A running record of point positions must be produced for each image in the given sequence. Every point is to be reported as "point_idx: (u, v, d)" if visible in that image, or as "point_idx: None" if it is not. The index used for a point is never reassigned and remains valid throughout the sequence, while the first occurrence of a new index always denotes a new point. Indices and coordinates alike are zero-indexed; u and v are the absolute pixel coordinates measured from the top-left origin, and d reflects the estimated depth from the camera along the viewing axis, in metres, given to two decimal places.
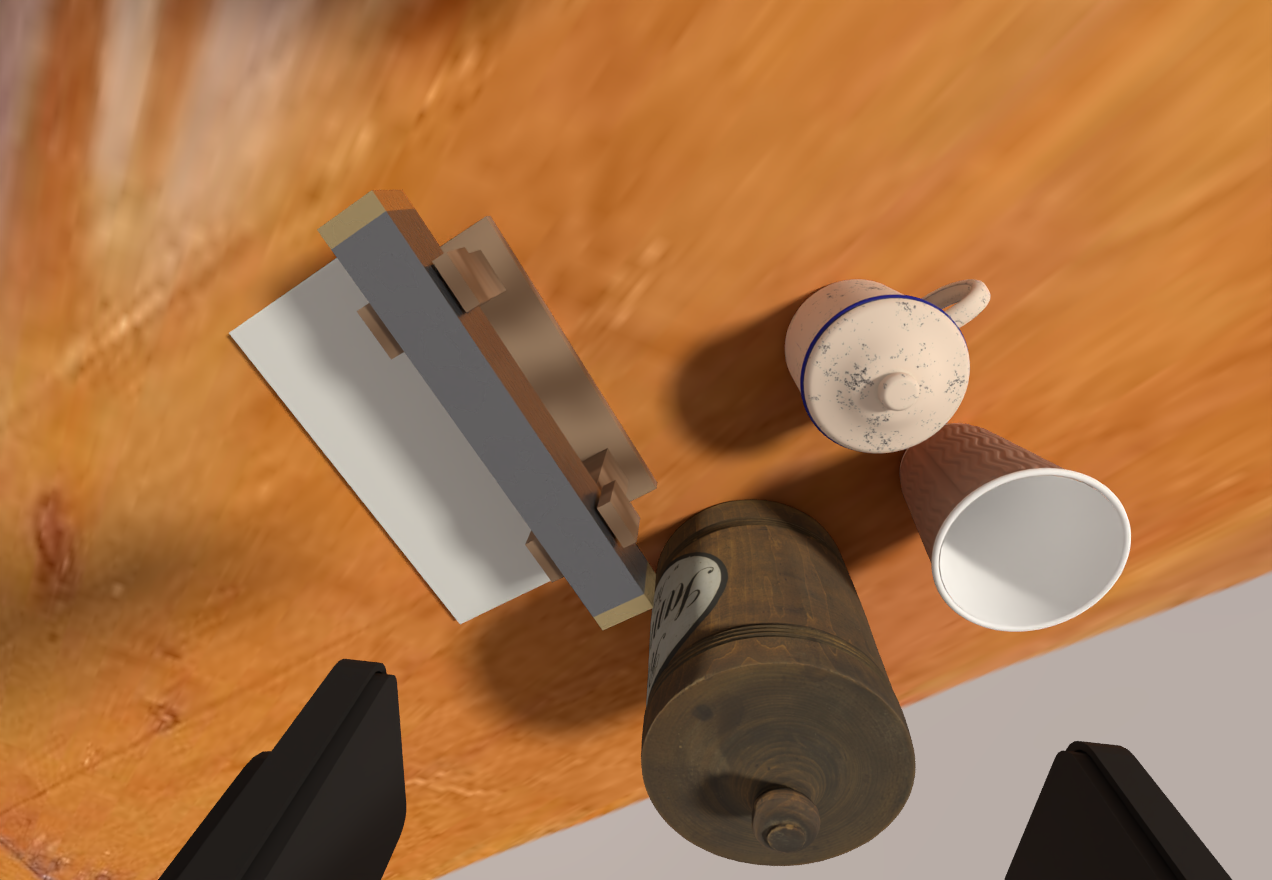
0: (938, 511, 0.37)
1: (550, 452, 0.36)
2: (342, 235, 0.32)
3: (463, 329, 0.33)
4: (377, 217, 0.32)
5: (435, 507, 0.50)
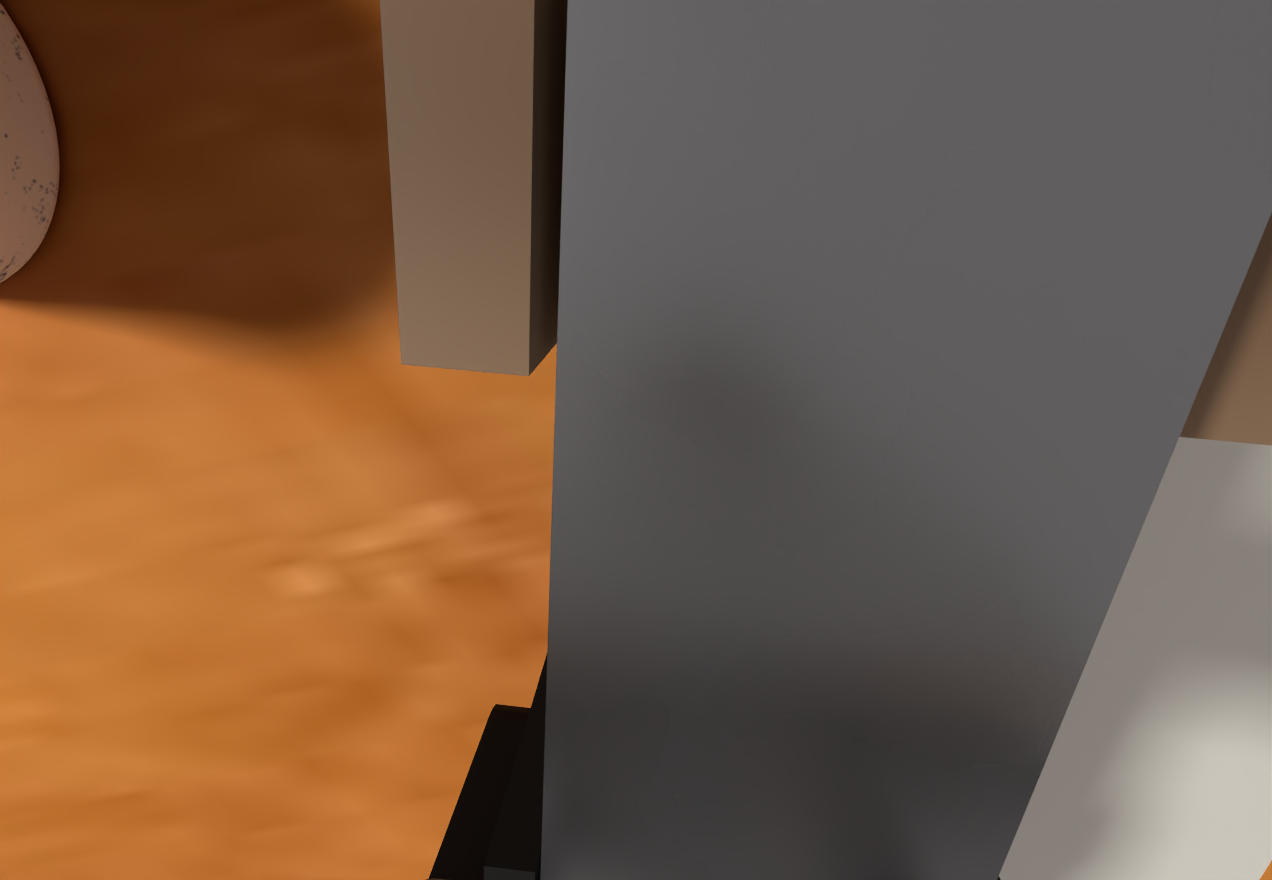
0: None
1: (544, 870, 0.06)
2: None
3: None
4: None
5: None
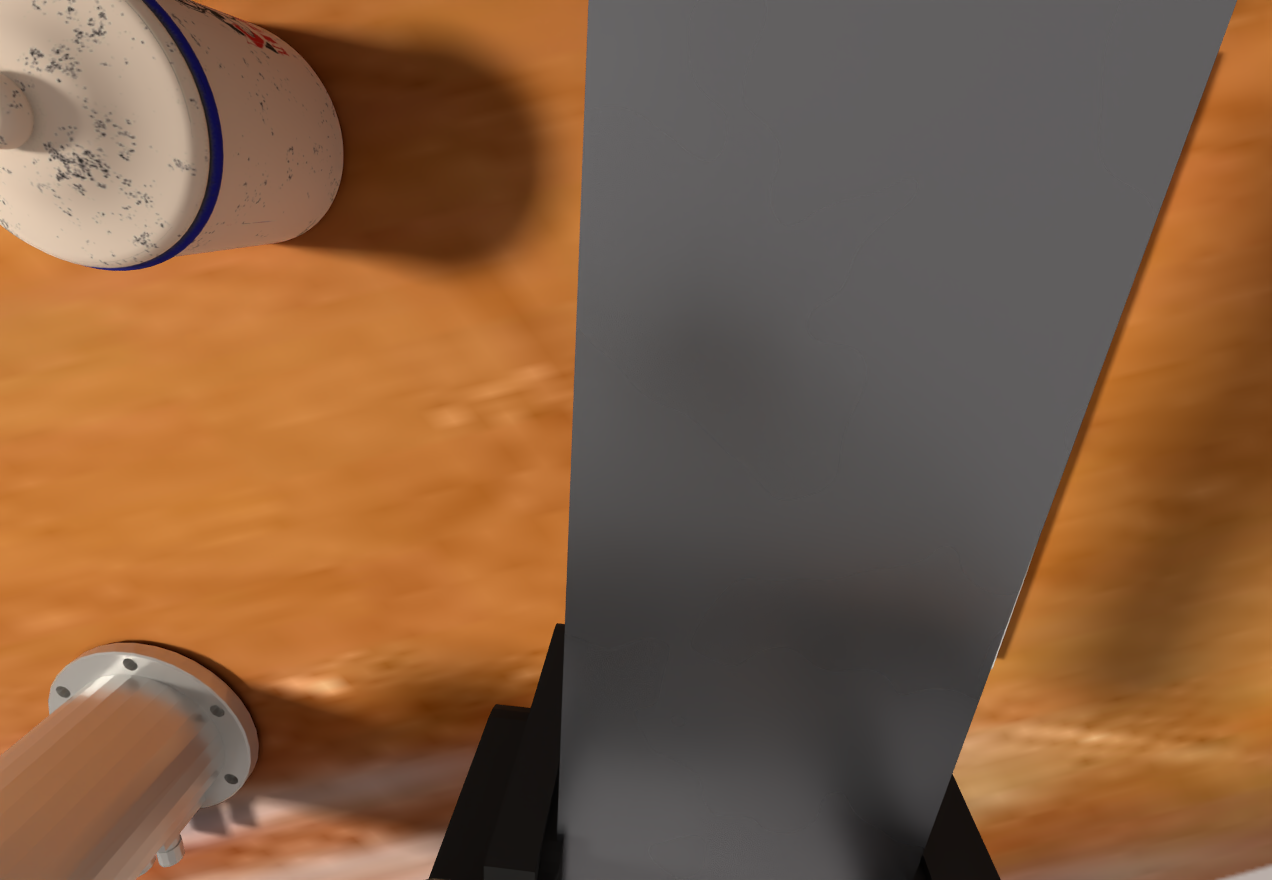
0: None
1: (561, 786, 0.07)
2: None
3: None
4: None
5: None
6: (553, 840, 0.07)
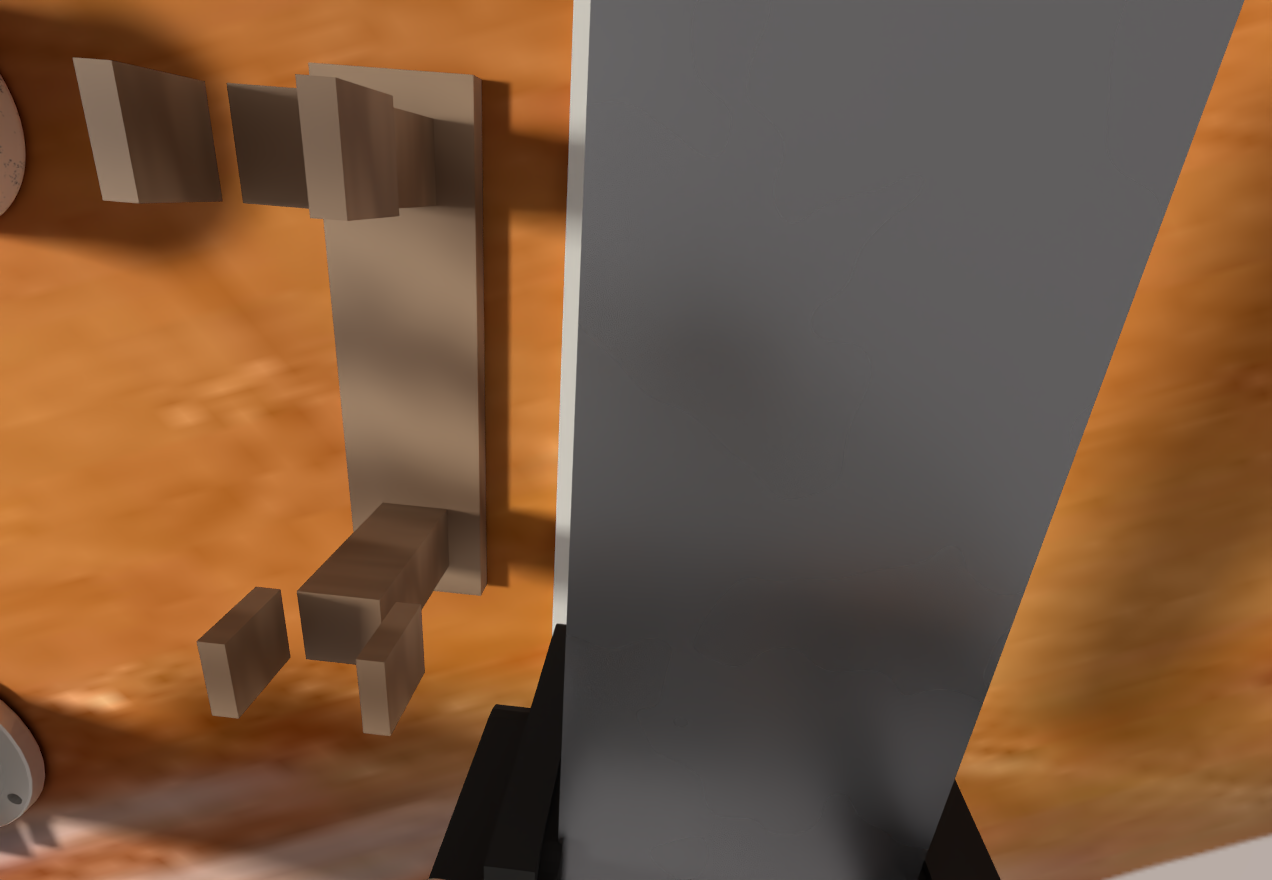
0: None
1: (562, 788, 0.07)
2: None
3: None
4: None
5: None
6: (553, 840, 0.07)
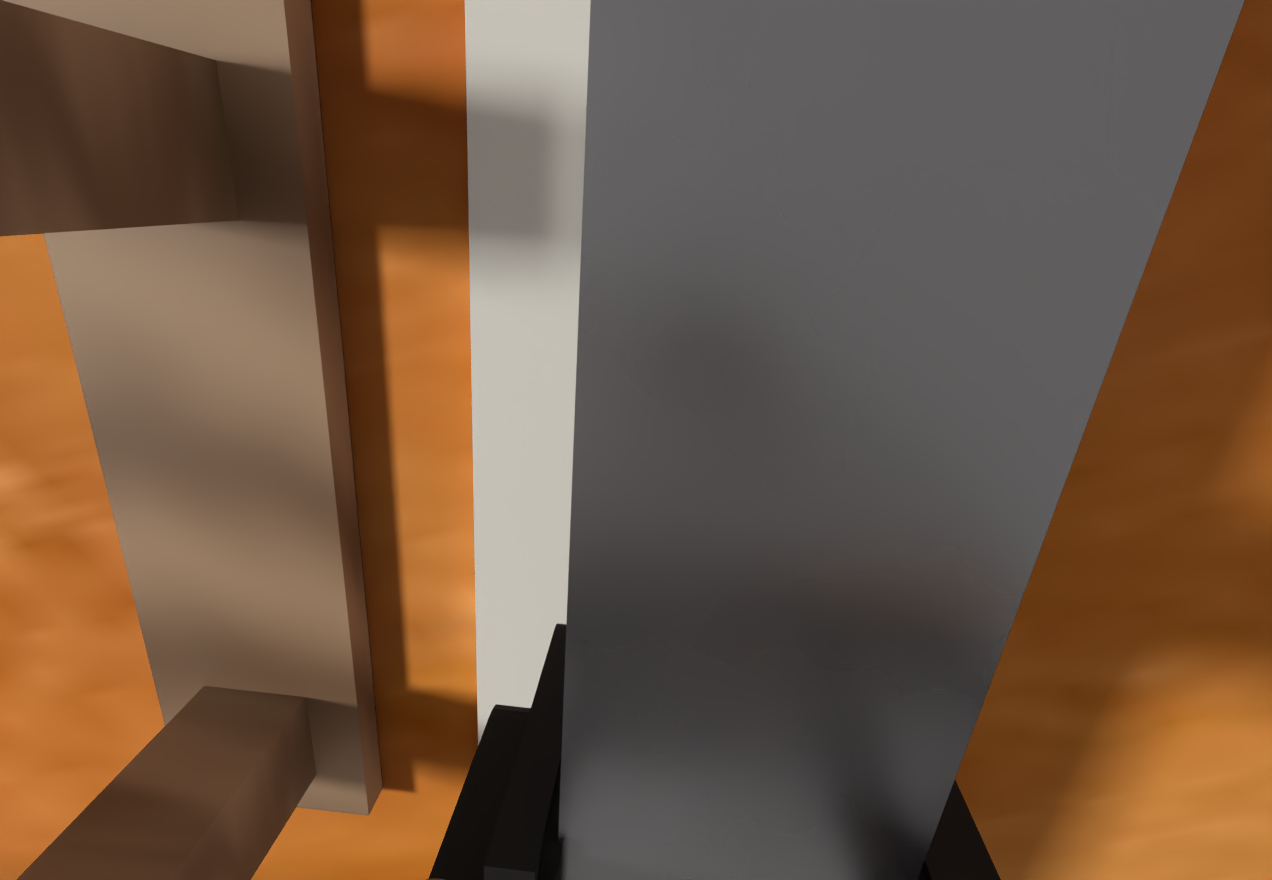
0: None
1: (562, 788, 0.07)
2: None
3: None
4: None
5: None
6: (553, 840, 0.07)
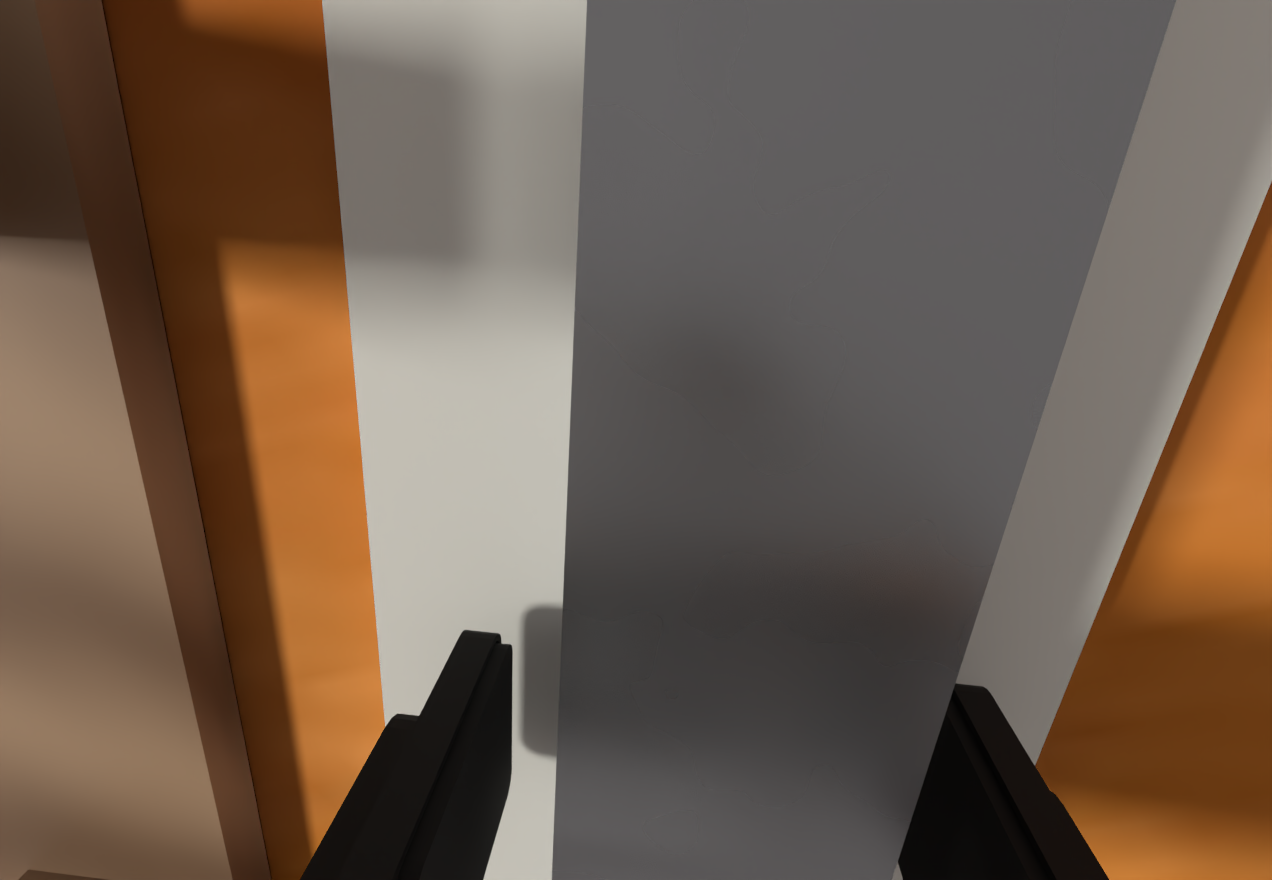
0: None
1: (558, 763, 0.07)
2: None
3: None
4: None
5: None
6: (414, 860, 0.06)
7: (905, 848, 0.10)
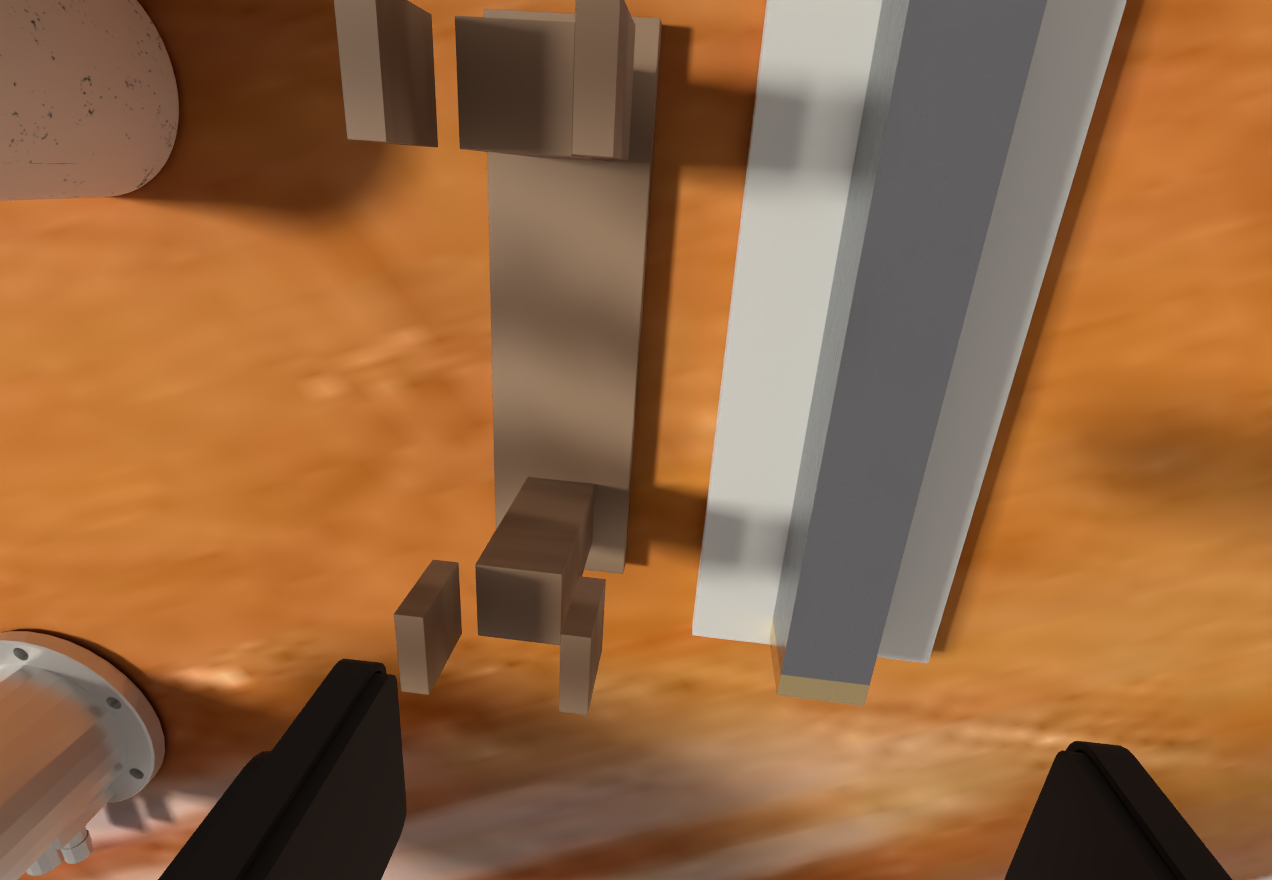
0: None
1: (846, 322, 0.21)
2: (844, 686, 0.27)
3: (810, 536, 0.24)
4: (795, 674, 0.27)
5: None
6: None
7: None
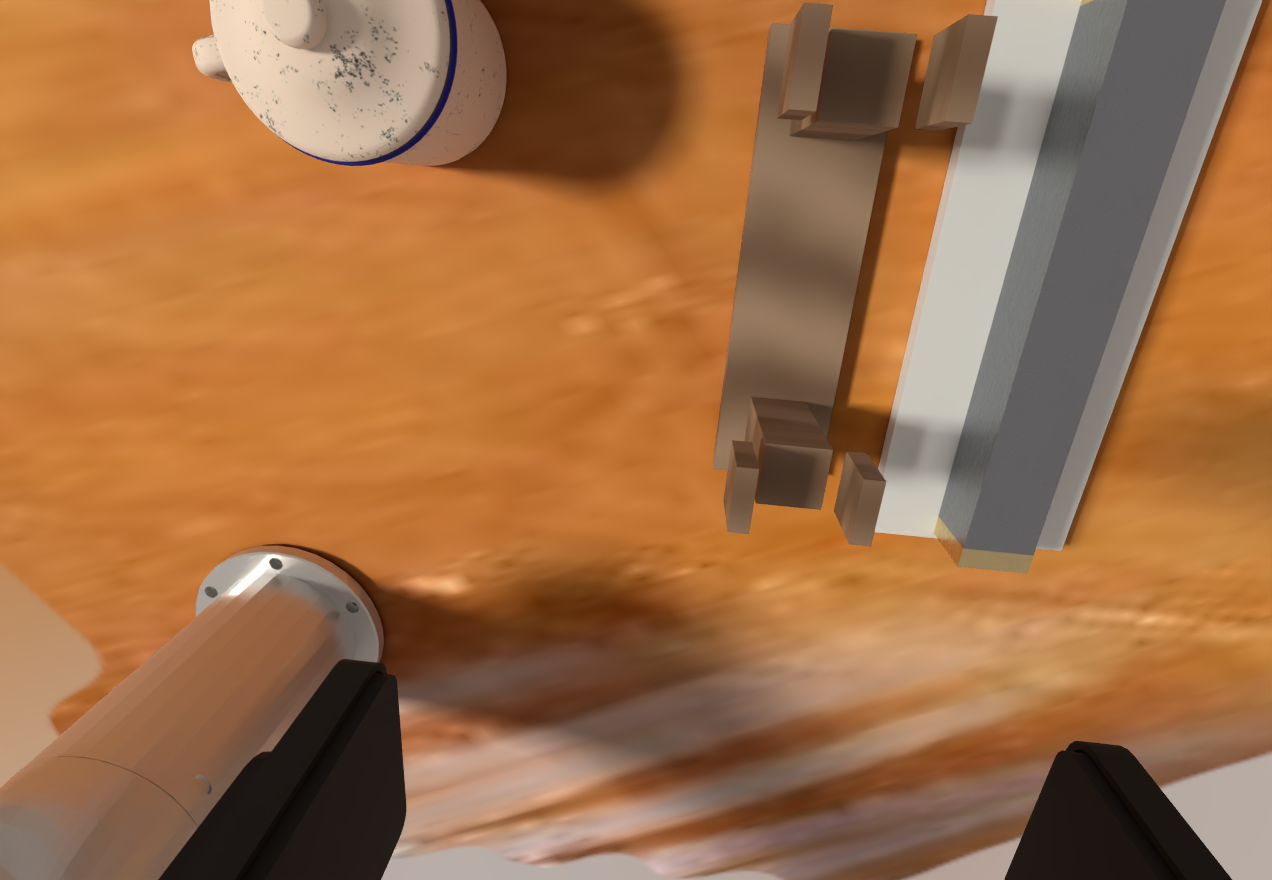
0: None
1: (1047, 259, 0.29)
2: (1013, 557, 0.34)
3: (1001, 430, 0.31)
4: (974, 548, 0.34)
5: None
6: None
7: None
